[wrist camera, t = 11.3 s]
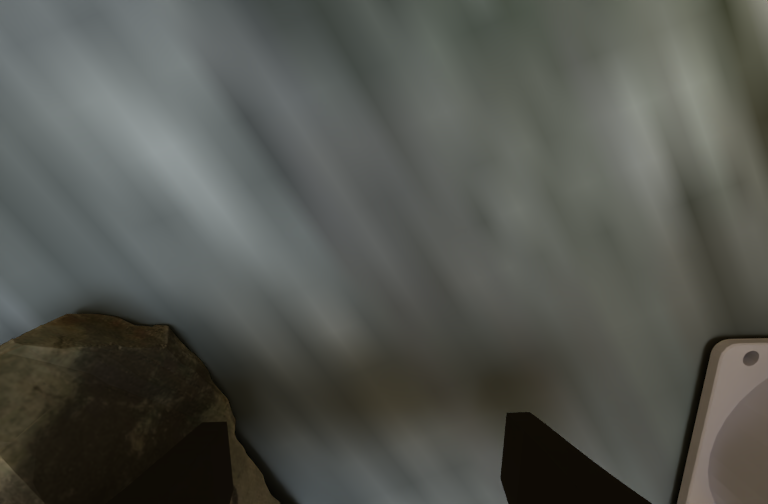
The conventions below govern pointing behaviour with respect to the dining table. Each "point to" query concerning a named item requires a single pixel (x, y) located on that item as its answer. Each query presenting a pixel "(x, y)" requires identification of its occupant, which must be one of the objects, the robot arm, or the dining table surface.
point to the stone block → (103, 411)
